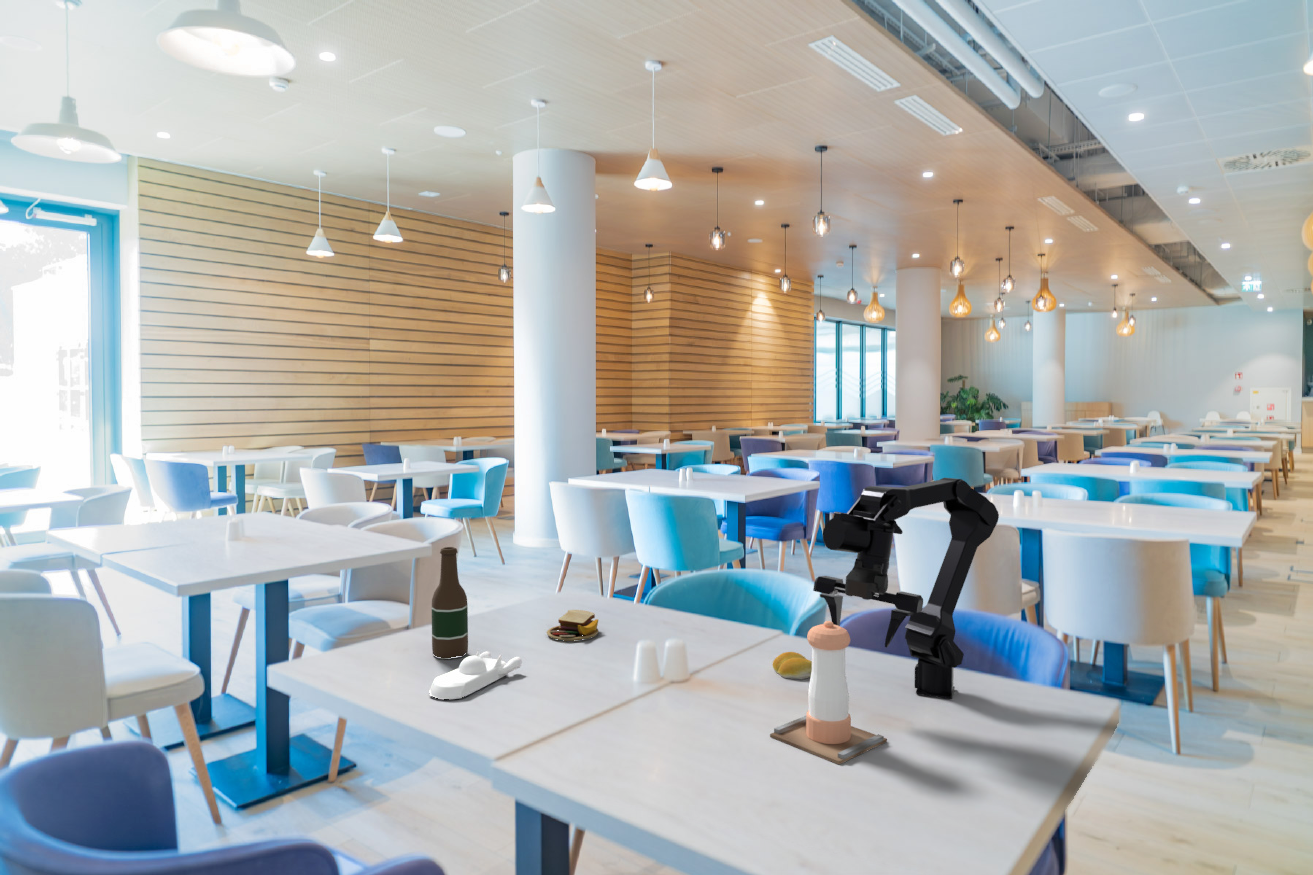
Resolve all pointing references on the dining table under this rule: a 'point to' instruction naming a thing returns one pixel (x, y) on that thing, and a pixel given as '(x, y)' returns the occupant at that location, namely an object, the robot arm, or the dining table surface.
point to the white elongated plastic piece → (472, 676)
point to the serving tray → (836, 753)
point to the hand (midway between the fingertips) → (860, 640)
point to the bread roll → (792, 666)
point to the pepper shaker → (828, 685)
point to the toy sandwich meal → (575, 626)
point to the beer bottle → (449, 610)
